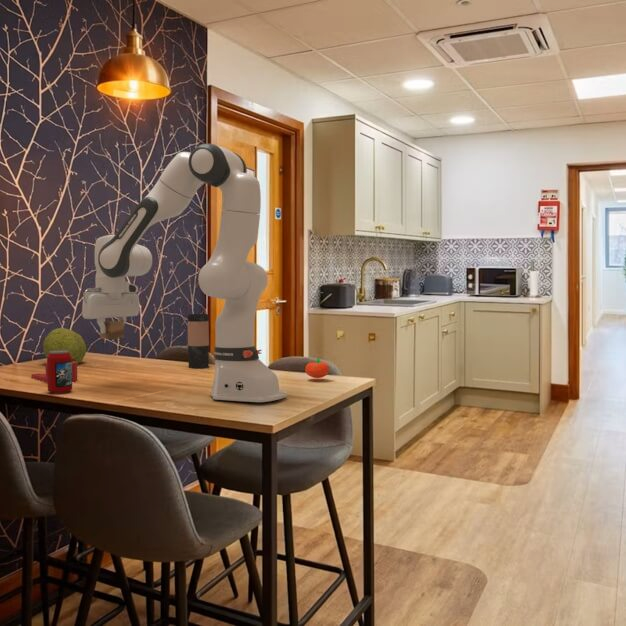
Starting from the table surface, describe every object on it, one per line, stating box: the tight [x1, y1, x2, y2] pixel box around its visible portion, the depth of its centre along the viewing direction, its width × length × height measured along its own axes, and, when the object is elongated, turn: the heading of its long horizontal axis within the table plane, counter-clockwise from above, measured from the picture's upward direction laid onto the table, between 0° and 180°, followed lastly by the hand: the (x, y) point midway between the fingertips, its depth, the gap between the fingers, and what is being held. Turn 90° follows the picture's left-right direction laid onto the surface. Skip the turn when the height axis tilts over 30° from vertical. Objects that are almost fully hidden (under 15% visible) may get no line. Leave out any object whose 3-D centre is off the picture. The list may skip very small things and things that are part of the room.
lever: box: [31, 361, 78, 384], centre depth 217 cm, size 18×9×7 cm, turn 61°
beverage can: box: [46, 350, 73, 395], centre depth 197 cm, size 7×7×12 cm
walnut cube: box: [99, 320, 125, 340], centre depth 209 cm, size 5×5×5 cm
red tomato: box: [304, 358, 330, 379], centre depth 225 cm, size 7×8×6 cm
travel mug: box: [187, 313, 210, 370], centre depth 247 cm, size 8×8×20 cm
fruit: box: [42, 327, 88, 365], centre depth 248 cm, size 16×14×15 cm
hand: (112, 332), depth 209 cm, fingers closed on walnut cube, 5 cm apart
